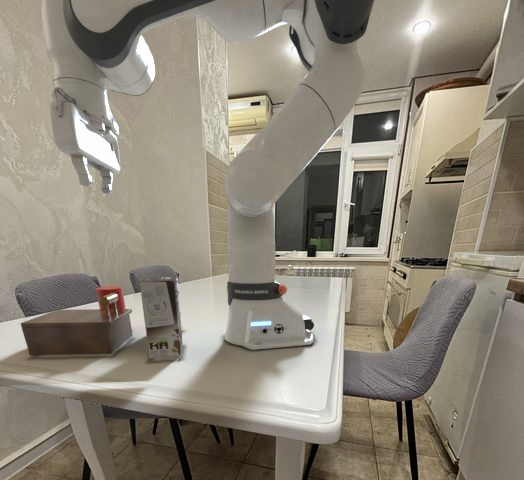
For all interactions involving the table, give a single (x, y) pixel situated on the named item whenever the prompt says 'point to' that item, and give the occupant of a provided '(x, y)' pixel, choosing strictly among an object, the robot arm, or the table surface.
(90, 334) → the chest
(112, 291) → the can
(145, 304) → the coffee box
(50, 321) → the chest lid
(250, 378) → the table surface
